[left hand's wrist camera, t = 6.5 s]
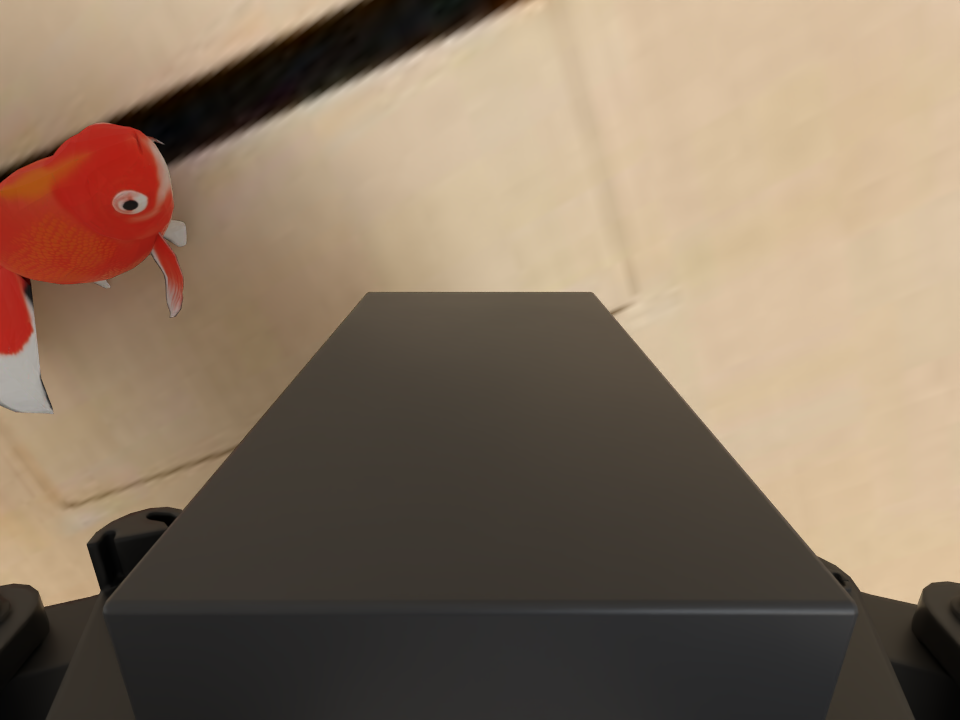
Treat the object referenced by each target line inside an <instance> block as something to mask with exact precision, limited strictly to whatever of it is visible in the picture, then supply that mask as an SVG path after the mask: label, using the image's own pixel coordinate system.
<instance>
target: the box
mask: <svg viewBox="0 0 960 720" xmlns="http://www.w3.org/2000/svg"><path fill="white" fill-rule="evenodd" d="M103 617H104V620H105V623H106V626H107V630H108V633H109V636H110V639H111V642H112V646H113V649H114V652H115V655H116V658H117V662H118V665H119V668H120V671H121V674H122V678H123V681H124V684H125V687H126V690H127V694H128V697H129V700H130V703H131V706H132V710H133V713H134V716H135V719H136V720H825V719H826V716H827V713H828V709H829V706H830V703H831V700H832V697H833V693H834V690H835V687H836V684H837V681H838V678H839V674H840V671H841V668H842V665H843V662H844V658H845V655H846V652H847V649H848V646H849V642H850V639H851V636H852V633H853V630H854V627H855V623H856V620H857V617H858V607H857V605H856V602H855V601H854V599H853V598H852V597H851V596H850V595H849V593H848V592H847V591H846V590H845V589H844V588H843V586H842V585H841V584H840V583H839V582H838V581H837V579H836V578H835V577H834V576H833V575H832V573H831V572H830V571H829V570H828V569H827V568H826V566H825V565H824V564H823V563H822V562H821V560H820V559H819V558H818V557H817V556H816V555H815V553H814V552H813V551H812V550H811V549H810V548H809V546H808V545H807V544H806V543H805V542H804V540H803V539H802V538H801V537H800V536H799V535H798V533H797V532H796V531H795V530H794V529H793V528H792V526H791V525H790V524H789V523H788V522H787V520H786V519H785V518H784V517H783V516H782V515H781V513H780V512H779V511H778V510H777V509H776V508H775V506H774V505H773V504H772V503H771V502H770V500H769V499H768V498H767V497H766V496H765V495H764V493H763V492H762V491H761V490H760V489H759V488H758V486H757V485H756V484H755V483H754V482H753V480H752V479H751V478H750V477H749V476H748V475H747V473H746V472H745V471H744V470H743V469H742V468H741V466H740V465H739V464H738V463H737V462H736V460H735V459H734V458H733V457H732V456H731V455H730V453H729V452H728V451H727V450H726V449H725V448H724V446H723V445H722V444H721V443H720V442H719V440H718V439H717V438H716V437H715V436H714V435H713V433H712V432H711V431H710V430H709V429H708V428H707V426H706V425H705V424H704V423H703V422H702V420H701V419H700V418H699V417H698V416H697V415H696V413H695V412H694V411H693V410H692V409H691V408H690V406H689V405H688V404H687V403H686V402H685V400H684V399H683V398H682V397H681V396H680V395H679V393H678V392H677V391H676V390H675V389H674V388H673V386H672V385H671V384H670V383H669V382H668V380H667V379H666V378H665V377H664V376H663V375H662V373H661V372H660V371H659V370H658V369H657V368H656V366H655V365H654V364H653V363H652V362H651V360H650V359H649V358H648V357H647V356H646V355H645V353H644V352H643V351H642V350H641V349H640V348H639V346H638V345H637V344H636V343H635V342H634V340H633V339H632V338H631V337H630V336H629V335H628V333H627V332H626V331H625V330H624V329H623V327H622V326H621V325H620V324H619V323H618V322H617V320H616V319H615V318H614V317H613V316H612V315H611V313H610V312H609V311H608V310H607V309H606V307H605V306H604V305H603V304H602V303H601V302H600V300H599V299H598V298H597V297H596V296H595V295H594V293H592V292H368V293H367V294H366V295H365V296H364V297H363V298H362V300H361V301H360V302H359V303H358V304H357V305H356V307H355V308H354V309H353V310H352V311H351V313H350V314H349V315H348V316H347V317H346V318H345V320H344V321H343V322H342V323H341V324H340V326H339V327H338V328H337V329H336V330H335V331H334V333H333V334H332V335H331V336H330V337H329V338H328V340H327V341H326V342H325V343H324V344H323V346H322V347H321V348H320V349H319V350H318V351H317V353H316V354H315V355H314V356H313V357H312V359H311V360H310V361H309V362H308V363H307V364H306V366H305V367H304V368H303V369H302V370H301V372H300V373H299V374H298V375H297V376H296V377H295V379H294V380H293V381H292V382H291V383H290V385H289V386H288V387H287V388H286V389H285V390H284V392H283V393H282V394H281V395H280V396H279V398H278V399H277V400H276V401H275V402H274V403H273V405H272V406H271V407H270V408H269V409H268V410H267V412H266V413H265V414H264V415H263V416H262V418H261V419H260V420H259V421H258V422H257V423H256V425H255V426H254V427H253V428H252V429H251V431H250V432H249V433H248V434H247V435H246V436H245V438H244V439H243V440H242V441H241V442H240V444H239V445H238V446H237V447H236V448H235V449H234V451H233V452H232V453H231V454H230V455H229V457H228V458H227V459H226V460H225V461H224V462H223V464H222V465H221V466H220V467H219V468H218V470H217V471H216V472H215V473H214V474H213V475H212V477H211V478H210V479H209V480H208V481H207V482H206V484H205V485H204V486H203V487H202V488H201V490H200V491H199V492H198V493H197V494H196V495H195V497H194V498H193V499H192V500H191V501H190V503H189V504H188V505H187V506H186V507H185V508H184V510H183V511H182V512H181V513H180V514H179V516H178V517H177V518H176V519H175V520H174V521H173V523H172V524H171V525H170V526H169V527H168V529H167V530H166V531H165V532H164V533H163V534H162V536H161V537H160V538H159V539H158V540H157V542H156V543H155V544H154V545H153V546H152V547H151V549H150V550H149V551H148V552H147V553H146V554H145V556H144V557H143V558H142V559H141V560H140V562H139V563H138V564H137V565H136V566H135V567H134V569H133V570H132V571H131V572H130V573H129V575H128V576H127V577H126V578H125V579H124V580H123V582H122V583H121V584H120V585H119V586H118V588H117V589H116V590H115V591H114V592H113V593H112V595H111V596H110V597H109V598H108V599H107V601H106V602H105V605H104V607H103Z"/></svg>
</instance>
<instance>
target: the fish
mask: <svg viewBox="0 0 960 720" xmlns="http://www.w3.org/2000/svg"><path fill="white" fill-rule="evenodd" d="M154 141H156V142H158V143H160V144H163V143H162V142H160V141H158V140H157V139H154V138H152V137H149V136H146V135H144V134H143V133H142V132H141V131H139V130H136V129H134V128H131V127H124V126H119V125H114V124H110V123H104V122H100V123H95V124H92V125H90V126H88V127H86V128H85V129H84V130H82V131H81V132H80V133H79V134H77V135H75V136H73V137H71V138H69V139H68V140H67V141H65V142H64V143H63V144H62V145H61V146H60V147H59V148H58V150H57V151H56V152H55V154H54V155H53V156H50V157H47V158H44V159H41V160H38V161H36V162H34V163H31V164H29V165H27V166H25V167H23V168H20V169H18V170H17V171H15V172H14V173H12V174H11V175H10V176H9V177H7V178H6V179H5V180H3V181H2V182H1V183H0V406H3V407H5V408H7V409H10V410H12V411H15V412H27V413H50V414H54V413H53V409H52V405H51V403H50V400H49V398H48V395H47V392H46V390H45V387H44V385H43V382H42V379H41V373H40V363H39V354H38V345H37V335H36V326H35V318H34V308H33V298H32V289H31V282H30V279H33V280H38V281H44V282H50V283H56V284H78V283H89V282H93V283H96V284H98V285H100V286H102V287H104V288H110V285H109V284H108V282H107V281H106V280H107V279H110V278H113V277H115V276H117V275H119V274H122V273H124V272H126V271H128V270H131V269H133V268H134V267H136V266H137V265H138V264H140V263H141V262H142V261H143V260H144V259H145V258H146V257H147V256H148V255H149V254H150V253H151V255H152V256H153V258H154V260H155V262H156V263H157V264H158V266H159V267H160V269H161V271H162V272H163V274H164V277H165V283H166V299H167V305H168V308H169V311H170V318H171V317H176V315H177V314H178V313H179V311H180V310H181V306H182V301H183V295H182V291H183V275H182V272H181V269H180V266H179V263H178V260H177V257H176V255H175V253H174V252H173V251H172V249H171V248H170V246H169V245H168V243H167V242H166V240H165V239H167V240H169V241H170V242H172V243H173V244H175V245H176V246H180V247H181V246H184V245H186V243H187V233H186V226H185V223H184V222H182V221H176V220H172V215H173V208H174V199H173V190H172V184H171V178H170V174H169V170H168V167H167V165H166V163H165V160H164V158H163V157H162V155H161V153H160V152H159V150H158V148H157V147H156V145H155V144H154V143H153V142H154ZM163 145H165V144H163ZM164 238H165V239H164Z"/></svg>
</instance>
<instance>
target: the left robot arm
mask: <svg viewBox="0 0 960 720" xmlns="http://www.w3.org/2000/svg"><path fill="white" fill-rule="evenodd" d="M181 512H182V510H181V509H176V508H170V507H161V508H149V509H145V510H141V511H138V512H134V513H130V514H128V515H126V516H124V517H121V518H119V519H117V520H115V521H112V522H111V523H109V524H108V525H106V526H105V527H103V528H102V529H101V530H99V531H98V532H96V533H95V535H94V536H93V537H92V538H91V539H90V541H89V542H88V543H87V547H88V550H89V554H90V557H91V560H92V563H93V567H94V570H95V573H96V576H97V580H98V583H99V586H100V589H101V591H100V594H98V595H95V596H91V597H87V598H83V599H78V600H74V601H69V602H65V603H60V604H56V605H51V606H47V607H44V606H43V603H42V600H41V598H40V595H39V592H38V591H37V590H36V589H34V588H33V587H31V586H30V585H23V584H9V585H3V586H0V720H136V719H135V716H134V713H133V710H132V706H131V703H130V700H129V697H128V694H127V690H126V687H125V684H124V681H123V678H122V674H121V671H120V668H119V665H118V662H117V658H116V655H115V652H114V649H113V646H112V642H111V639H110V636H109V633H108V630H107V626H106V623H105V620H104V617H103V607H104V605H105V602H106V601H107V599H108V598H109V597H110V596H111V595H112V593H113V592H114V591H115V590H116V589H117V588H118V586H119V585H120V584H121V583H122V582H123V580H124V579H125V578H126V577H127V576H128V575H129V573H130V572H131V571H132V570H133V569H134V567H135V566H136V565H137V564H138V563H139V562H140V560H141V559H142V558H143V557H144V556H145V554H146V553H147V552H148V551H149V550H150V549H151V547H152V546H153V545H154V544H155V543H156V542H157V540H158V539H159V538H160V537H161V536H162V534H163V533H164V532H165V531H166V530H167V529H168V527H169V526H170V525H171V524H172V523H173V521H174V520H175V519H176V518H177V517H178V516H179V514H180V513H181ZM817 557H818V556H817ZM818 558H819V559H820V560H821V562H822V563H823V564H824V565H825V566H826V568H827V569H828V570H829V571H830V572H831V573H832V575H833V576H834V577H835V578H836V579H837V581H838V582H839V583H840V584H841V585H842V586H843V588H844V589H845V590H846V591H847V592H848V593H849V595H850V596H851V597H852V598H853V599H854V601H855V602H856V605H857V607H858V617H857V620H856V623H855V627H854V630H853V633H852V636H851V639H850V642H849V646H848V649H847V652H846V655H845V658H844V662H843V665H842V668H841V671H840V674H839V678H838V681H837V684H836V687H835V690H834V693H833V697H832V700H831V703H830V706H829V709H828V713H827V716H826V719H825V720H960V583H954V582H948V581H947V582H936V583H931V584H930V585H928V586H927V587H925V588H924V589H923V591H922V593H921V596H920V599H919V602H918V605H915V604H911V603H906V602H902V601H897V600H893V599H888V598H884V597H879V596H875V595H870V594H867V593H863V592H860V590H859V589H858V587H857V586H856V584H855V583H854V582H853V580H852V579H851V577H850V576H848V575H847V574H846V573H844V572H843V571H842V570H841V569H839V568H838V567H837V566H836V565H834V564H832V563H830V562H828V561H826V560H824V559H822V558H820V557H818Z"/></svg>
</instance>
